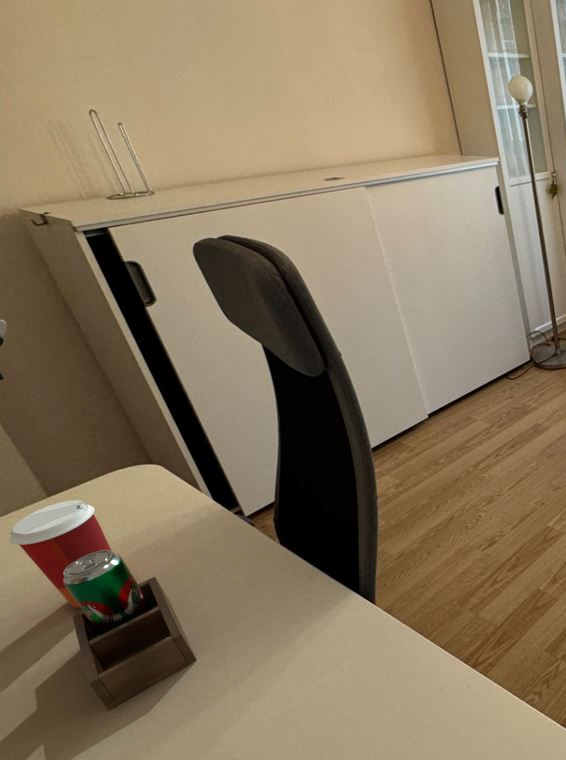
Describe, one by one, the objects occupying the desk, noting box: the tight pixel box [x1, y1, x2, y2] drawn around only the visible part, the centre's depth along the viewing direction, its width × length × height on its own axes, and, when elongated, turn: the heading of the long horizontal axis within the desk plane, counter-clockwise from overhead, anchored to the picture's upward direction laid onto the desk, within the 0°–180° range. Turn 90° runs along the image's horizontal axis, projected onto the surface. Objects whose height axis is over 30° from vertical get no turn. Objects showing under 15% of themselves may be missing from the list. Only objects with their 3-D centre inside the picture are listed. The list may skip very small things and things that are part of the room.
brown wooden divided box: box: [71, 576, 197, 711], centre depth 71 cm, size 8×15×5 cm, turn 52°
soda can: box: [63, 550, 153, 635], centre depth 71 cm, size 5×5×12 cm
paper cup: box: [9, 499, 113, 608], centre depth 78 cm, size 8×8×14 cm
